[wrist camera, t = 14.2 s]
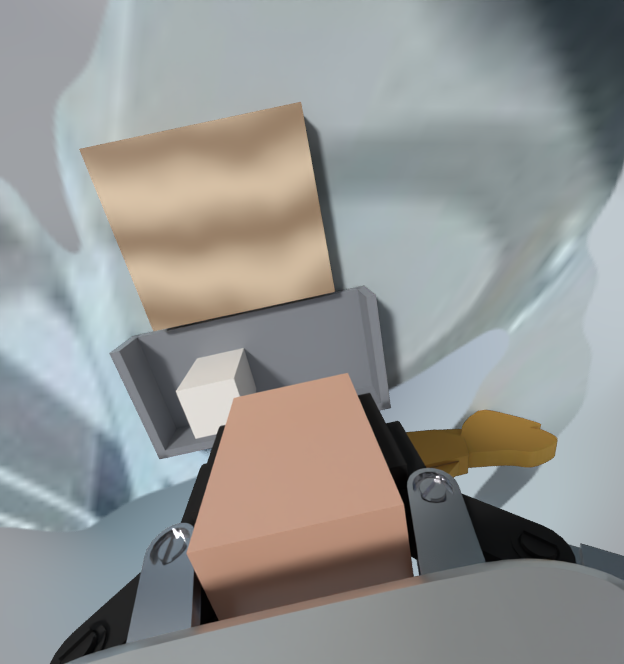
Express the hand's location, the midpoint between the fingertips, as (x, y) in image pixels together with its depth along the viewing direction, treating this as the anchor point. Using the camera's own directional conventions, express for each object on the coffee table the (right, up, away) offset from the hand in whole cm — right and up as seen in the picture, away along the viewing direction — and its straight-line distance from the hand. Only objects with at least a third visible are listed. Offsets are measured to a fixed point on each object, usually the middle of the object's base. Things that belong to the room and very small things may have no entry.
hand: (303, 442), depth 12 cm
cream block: (-8, 0, +18) cm, 19 cm away
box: (-4, +1, +18) cm, 19 cm away
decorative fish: (+13, -6, +23) cm, 27 cm away
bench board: (-7, +13, +14) cm, 21 cm away
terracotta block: (0, 0, 0) cm, 1 cm away
